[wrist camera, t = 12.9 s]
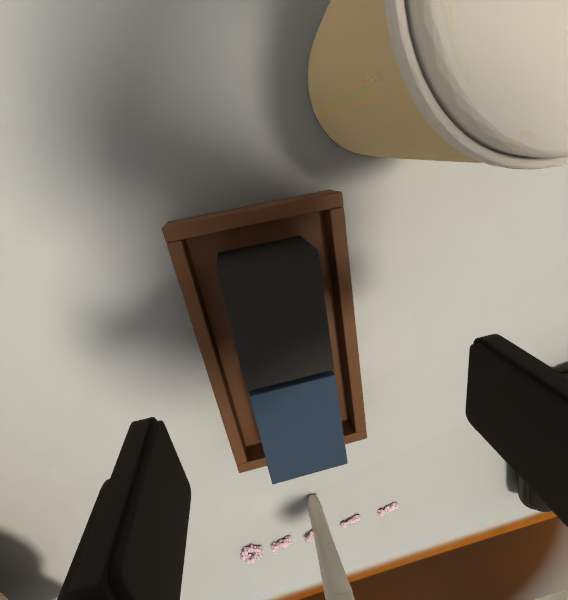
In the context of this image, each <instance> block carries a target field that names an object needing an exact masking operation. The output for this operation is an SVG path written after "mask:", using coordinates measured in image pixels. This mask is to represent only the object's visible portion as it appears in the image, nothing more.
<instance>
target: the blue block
mask: <svg viewBox="0 0 568 600" xmlns="http://www.w3.org/2000/svg"><path fill="white" fill-rule="evenodd" d="M249 398H250V402H251V406H252V409H253V413H254V417H255V421H256V424H257V428H258V432H259V436H260V439H261V443H262V447H263V451H264V454H265V458H266V462H267V466H268V469H269V473H270V477H271V480H272V484H276V483H279V482H283V481H286V480H290V479H294V478H297V477H301V476H304V475H308V474H311V473H315V472H319V471H322V470H326V469H329V468H333V467H337V466H340V465H344V464H347V456H346V449H345V441H344V434H343V427H342V420H341V412H340V405H339V398H338V391H337V383H336V376H335V374H334V372H333V370H331V371H327V372H323V373H319V374H315V375H311V376H307V377H303V378H299V379H295V380H291V381H287V382H283V383H279V384H275V385H271V386H267V387H263V388H259V389H255V390H251V391H249Z"/></svg>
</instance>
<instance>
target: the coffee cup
mask: <svg viewBox="0 0 568 600" xmlns="http://www.w3.org/2000/svg"><path fill="white" fill-rule="evenodd" d="M308 89H309V95H310V100H311V104H312V107H313V110H314V113H315V115H316V117H317V119H318V121H319V123H320V125H321V126H322V128H323V129H324V131H325V132H326V133H327V134H328V136H329V137H330V138H331V139H332V140H333V141H334V142H336V143H337V144H338V145H340V146H341V147H343V148H345V149H347V150H349V151H351V152H354V153H357V154H362V155H368V156H375V157H390V158H404V159H420V160H436V161H454V162H474V163H486V164H489V165H493V166H499V167H505V168H512V169H540V168H549V167H555V166H559V165H563V164H567V163H568V0H331V1H330V3H329V5H328V7H327V10H326V12H325V14H324V16H323V19H322V21H321V23H320V26H319V28H318V31H317V33H316V36H315V39H314V42H313V45H312V48H311V52H310V57H309V64H308Z"/></svg>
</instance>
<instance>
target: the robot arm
mask: <svg viewBox="0 0 568 600" xmlns="http://www.w3.org/2000/svg"><path fill="white" fill-rule="evenodd" d="M466 416H467V419H468V421H469V422H470V424H471V425H472V426H473V427H474V428H475V429H476V430H477V431H478V432H479V433H480V434H481V435H482V436H483V438H484V439H485V440H486V441H487V442H488V443H489V444H490V445H491V446H492V447H493V448H494V449H495V450H496V451H497V452H498V454H499V455H500V456H501V457H502V458H503V459H504V460H505V461H506V462H507V463H508V464H509V465H510V466H511V467H512V468H513V470H514V471H515V472H516V473H517V474H518V475H519V476H520V477H521V478H522V479H523V480H524V481H525V482H526V483H527V484H528V485H529V487H530V488H531V489H532V490H533V491H534V492H535V493H536V494H537V495H538V496H539V497H540V498H541V499H542V500H543V501H544V503H545V504H546V505H547V506H548V507H549V508H550V509H551V510H552V511H553V512H554V513H555V514H556V515H557V516H558V517H559V518H560V519H561V521H562V522H563V523H564V524H565V525H566V526H567V527H568V378H567V377H566V376H564V375H563V374H561V373H559V372H558V371H556V370H555V369H553V368H551V367H550V366H548V365H547V364H545V363H543V362H542V361H540V360H539V359H537V358H535V357H534V356H532V355H531V354H529V353H527V352H526V351H524V350H523V349H521V348H519V347H518V346H516V345H515V344H513V343H511V342H510V341H508V340H507V339H505V338H503V337H502V336H500V335H498V334H492V335H488V336H484V337H480V338H477V339H475V341H474V343H473V344H472V345H471V346H470V352H469V368H468V383H467V398H466ZM190 502H191V488H190V484H189V482H188V479H187V477H186V475H185V472H184V470H183V467H182V465H181V463H180V460H179V458H178V455H177V453H176V451H175V448H174V446H173V443H172V441H171V439H170V436H169V434H168V431H167V429H166V427H165V424H164V422H163V421H157V420H156V419H155V418H154V417H151V418H147V419H143V420H139V421H134V422H132V423H131V425H130V427H129V430H128V433H127V435H126V438H125V441H124V443H123V446H122V449H121V451H120V454H119V457H118V459H117V462H116V465H115V467H114V470H113V473H112V475H111V478H110V479H108V480H107V481H106V482H105V483H104V484H103V486H102V488H101V490H100V492H99V495H98V497H97V500H96V502H95V505H94V507H93V510H92V513H91V515H90V518H89V520H88V523H87V525H86V528H85V530H84V533H83V535H82V538H81V540H80V543H79V546H78V548H77V551H76V553H75V556H74V558H73V561H72V563H71V566H70V568H69V571H68V574H67V576H66V579H65V581H64V584H63V586H62V589H61V591H60V594H59V596H58V599H57V600H180V592H181V583H182V574H183V565H184V556H185V547H186V538H187V529H188V520H189V511H190ZM535 600H568V589H567V590H565V591H561V592H558V593H555V594H551V595H548V596H545V597H541V598H538V599H535Z"/></svg>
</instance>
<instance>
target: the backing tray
mask: <svg viewBox="0 0 568 600" xmlns="http://www.w3.org/2000/svg"><path fill="white" fill-rule="evenodd" d="M342 206H343V198H342V192H340V191H333V190H327V191H322V192H317V193H312V194H307V195H302V196H297V197H292V198H287V199H282V200H277V201H272V202H267V203H262V204H257V205H252V206H247V207H242V208H237V209H232V210H227V211H222V212H217V213H212V214H207V215H202V216H197V217H192V218H187V219H182V220H177V221H172V222H168V223H167V224H166V225H165V226H164V227H163V228H162V231H163V234H164V237H165V240H166V242H167V247H168V250H169V253H170V256H171V259H172V262H173V266H174V269H175V272H176V275H177V278H178V281H179V284H180V288H181V291H182V294H183V297H184V300H185V303H186V307H187V310H188V313H189V316H190V319H191V322H192V325H193V329H194V332H195V335H196V338H197V341H198V344H199V348H200V351H201V354H202V357H203V360H204V363H205V366H206V370H207V373H208V376H209V379H210V382H211V385H212V389H213V392H214V395H215V398H216V401H217V404H218V407H219V411H220V414H221V417H222V420H223V423H224V426H225V430H226V433H227V436H228V439H229V442H230V445H231V449H232V452H233V455H234V458H235V461H236V464H237V468H238V471H239V473H242V472H245V471H249V470H253V469H256V468H260V467H264V466H267V462H266V458H265V454H264V451H263V447H262V443H261V439H260V436H259V432H258V428H257V424H256V421H255V417H254V413H253V409H252V406H251V402H250V398H249V391H248V390H247V387H246V384H245V380H244V376H243V372H242V369H241V365H240V361H239V357H238V354H237V350H236V346H235V342H234V338H233V335H232V331H231V327H230V323H229V320H228V316H227V312H226V308H225V304H224V301H223V297H222V293H221V289H220V286H219V282H218V278H217V274H216V268H217V256H218V253H219V252H224V251H229V250H234V249H239V248H243V247H248V246H253V245H258V244H262V243H267V242H272V241H277V240H282V239H286V238H291V237H296V236H302V237H303V238H304V239H305V240H307V241H308V242H309V243H310V244H311V245H313V246H314V247H315V248H316V249H317V250H318V252H319V259H320V266H321V274H322V281H323V289H324V296H325V303H326V311H327V318H328V325H329V333H330V340H331V348H332V355H333V362H334V370H333V372H334V374H335V376H336V383H337V391H338V398H339V405H340V412H341V420H342V427H343V434H344V441H345V444H348V443H351V442H355V441H359V440H362V439H366V438H367V433H366V423H365V413H364V403H363V393H362V384H361V374H360V364H359V354H358V344H357V335H356V325H355V315H354V305H353V295H352V285H351V276H350V266H349V256H348V246H347V236H346V227H345V217H344V208H343V207H342Z"/></svg>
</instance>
